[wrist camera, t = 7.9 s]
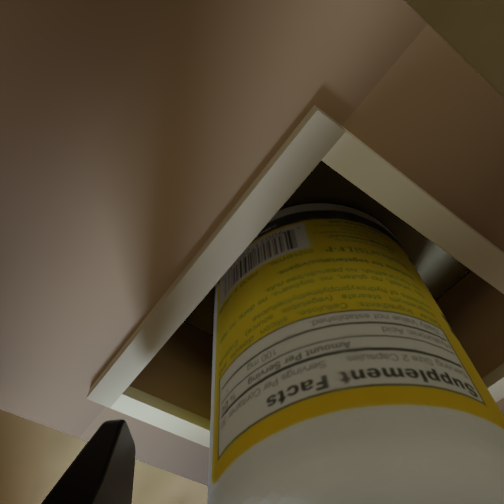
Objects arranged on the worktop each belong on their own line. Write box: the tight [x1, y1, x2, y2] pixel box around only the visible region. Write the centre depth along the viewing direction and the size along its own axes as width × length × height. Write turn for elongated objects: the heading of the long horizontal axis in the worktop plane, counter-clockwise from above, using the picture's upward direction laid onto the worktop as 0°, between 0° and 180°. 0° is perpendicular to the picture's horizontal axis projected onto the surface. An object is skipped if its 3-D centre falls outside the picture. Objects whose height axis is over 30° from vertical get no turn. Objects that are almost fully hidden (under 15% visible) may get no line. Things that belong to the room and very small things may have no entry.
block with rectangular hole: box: [0, 0, 504, 486], centre depth 11 cm, size 20×12×3 cm, turn 54°
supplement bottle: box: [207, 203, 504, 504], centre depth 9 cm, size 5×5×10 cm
